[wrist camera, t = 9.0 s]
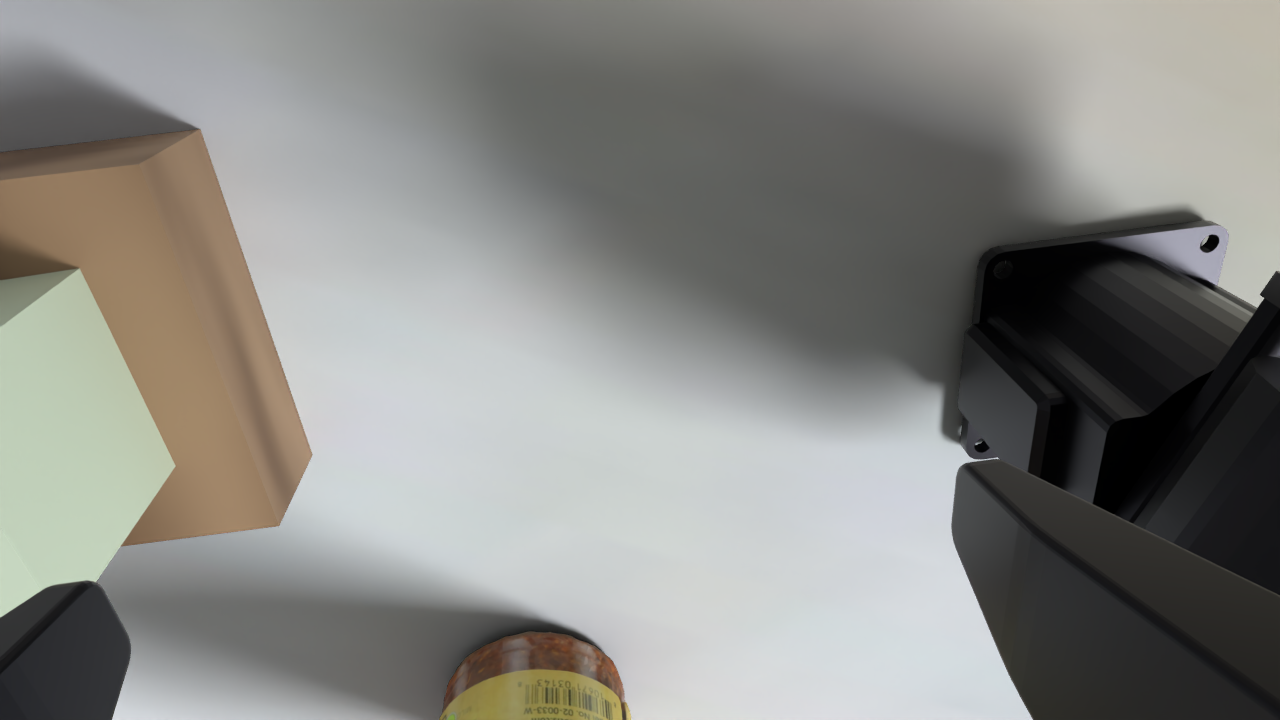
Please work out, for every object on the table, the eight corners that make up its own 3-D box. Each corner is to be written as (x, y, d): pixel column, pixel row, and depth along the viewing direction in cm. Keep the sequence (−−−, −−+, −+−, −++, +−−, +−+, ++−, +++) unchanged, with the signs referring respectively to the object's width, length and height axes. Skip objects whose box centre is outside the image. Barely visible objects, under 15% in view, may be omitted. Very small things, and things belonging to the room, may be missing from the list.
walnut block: (206, 125, 19) (138, 164, 16) (316, 446, 23) (278, 526, 20) (-189, 171, 19) (-335, 219, 16) (-6, 487, 23) (-94, 573, 20)
